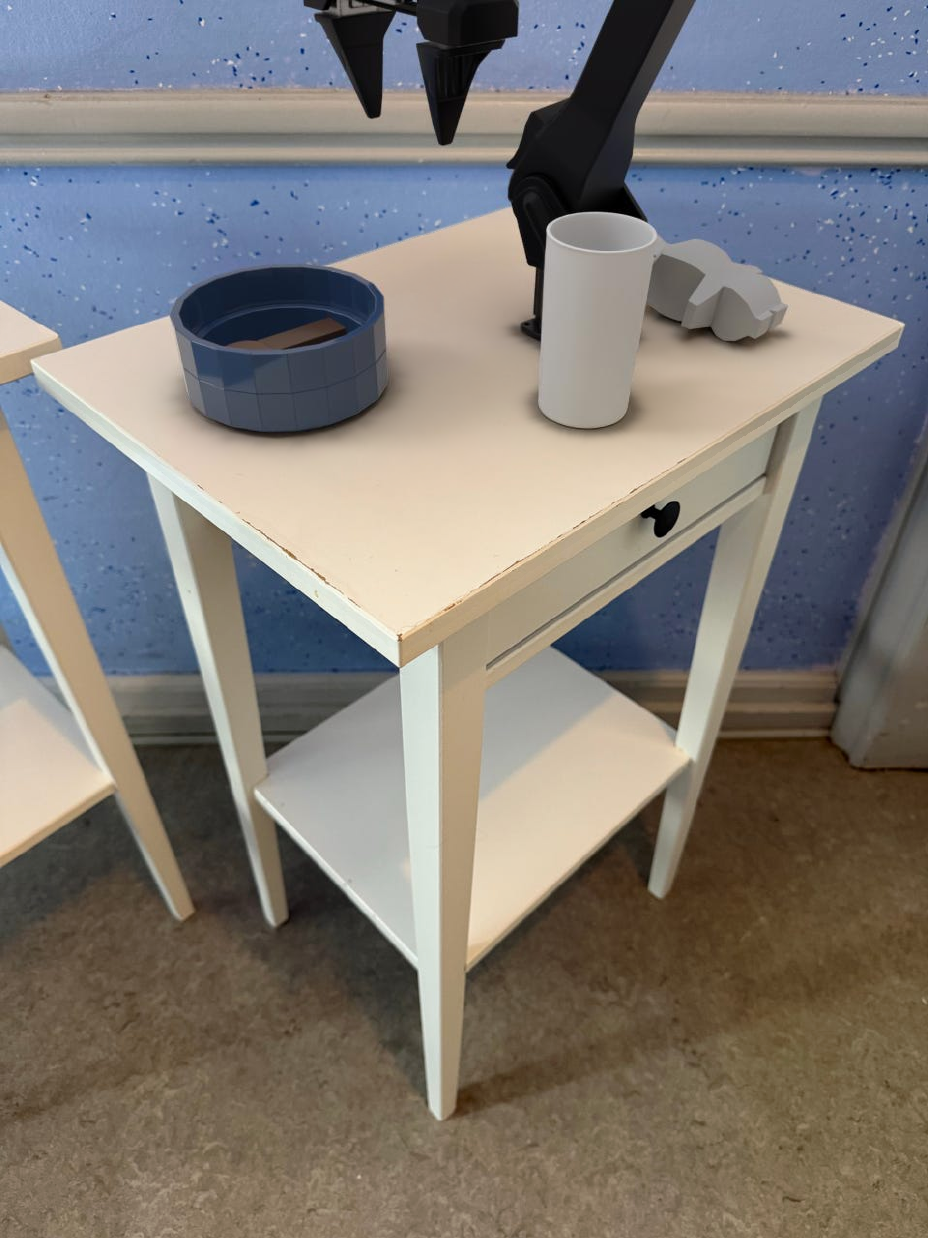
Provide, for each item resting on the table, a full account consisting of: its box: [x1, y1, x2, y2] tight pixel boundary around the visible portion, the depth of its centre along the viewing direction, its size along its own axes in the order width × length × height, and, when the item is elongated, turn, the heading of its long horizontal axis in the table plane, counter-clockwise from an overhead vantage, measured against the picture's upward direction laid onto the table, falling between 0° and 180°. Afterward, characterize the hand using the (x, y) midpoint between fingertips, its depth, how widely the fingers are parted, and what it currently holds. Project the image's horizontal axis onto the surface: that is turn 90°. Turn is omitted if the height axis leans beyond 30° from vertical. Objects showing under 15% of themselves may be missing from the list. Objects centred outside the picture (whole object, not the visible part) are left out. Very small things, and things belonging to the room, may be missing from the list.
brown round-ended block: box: [226, 317, 347, 350], centre depth 64 cm, size 4×9×3 cm, turn 129°
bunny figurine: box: [646, 233, 789, 342], centre depth 73 cm, size 10×5×15 cm
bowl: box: [169, 263, 389, 433], centre depth 63 cm, size 14×14×6 cm
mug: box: [537, 212, 658, 429], centre depth 61 cm, size 10×7×12 cm, turn 142°
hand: (408, 130), depth 71 cm, fingers open, 9 cm apart
